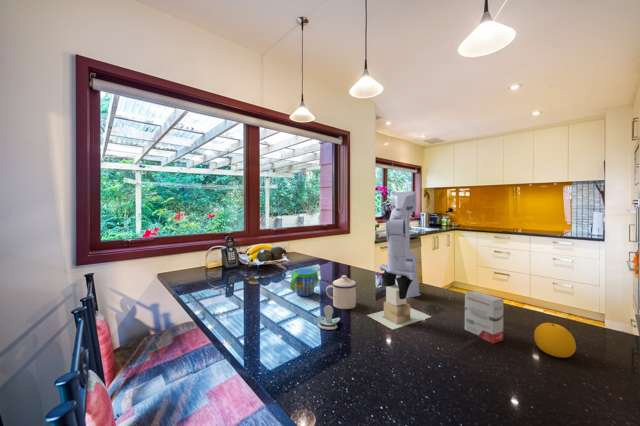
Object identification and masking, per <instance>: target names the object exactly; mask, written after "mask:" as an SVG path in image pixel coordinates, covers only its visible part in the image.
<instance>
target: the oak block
mask: <svg viewBox="0 0 640 426" xmlns="http://www.w3.org/2000/svg"><path fill="white" fill-rule="evenodd" d="M410 308H411V304H410V303H407V302H406V304H402V305H399V306H395V305H392V304H390V303H388V302H386V301H383V311H384V317H385V318H387V319H389V320H391V321H393V322H395V323H396V324H398V323H401V322H405V321H408V320H410Z"/></svg>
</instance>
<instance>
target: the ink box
mask: <svg viewBox="0 0 640 426" xmlns="http://www.w3.org/2000/svg"><path fill="white" fill-rule="evenodd" d="M464 330H465V331H468V332H470V333H472V334H474V335H476V337H477V338H479V339H481V340H484V341H485V342H488V343H491V344H496V343H499V342H502V341H504V299H503V298H500V297H496V296H494V295H489V294H486V293H482V292H479V291H476V290H474V291H469V292H468V291H467V292H465V293H464Z"/></svg>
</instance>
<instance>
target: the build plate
mask: <svg viewBox="0 0 640 426" xmlns="http://www.w3.org/2000/svg"><path fill="white" fill-rule="evenodd" d="M366 316H367V317H369V318H371V319H373V320H375V321H376V322H379V323H380V324H382V325H384V326H385V327H387V328H389V329H390V330H396V329H399V328H402V327H405V326H408V325H411V324H414V323H417V322H419V321H423V320H426V319H430V318H432V315H429V314H426V313H424V312H422V311H419V310H417V309H414V308H412V307H410V320H408V321H405V322H401V323H398V324H396V323H395V322H393V321H391V320H389V319H387V318H385V317H384V310H381V311H378V312H374V313H370V314H366Z"/></svg>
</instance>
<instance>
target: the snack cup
mask: <svg viewBox="0 0 640 426" xmlns="http://www.w3.org/2000/svg"><path fill="white" fill-rule="evenodd" d="M318 282H319V275H318V271H317V270H316V269H314V268H309V267H308V268H298V269H294V270H293V271H292V276H291V280H290V286H289V287H290V290H292V291H295V292H296V294H297V295H298V296H301V297H309V296H312V295H314V292H315V286H316V284H318Z"/></svg>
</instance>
